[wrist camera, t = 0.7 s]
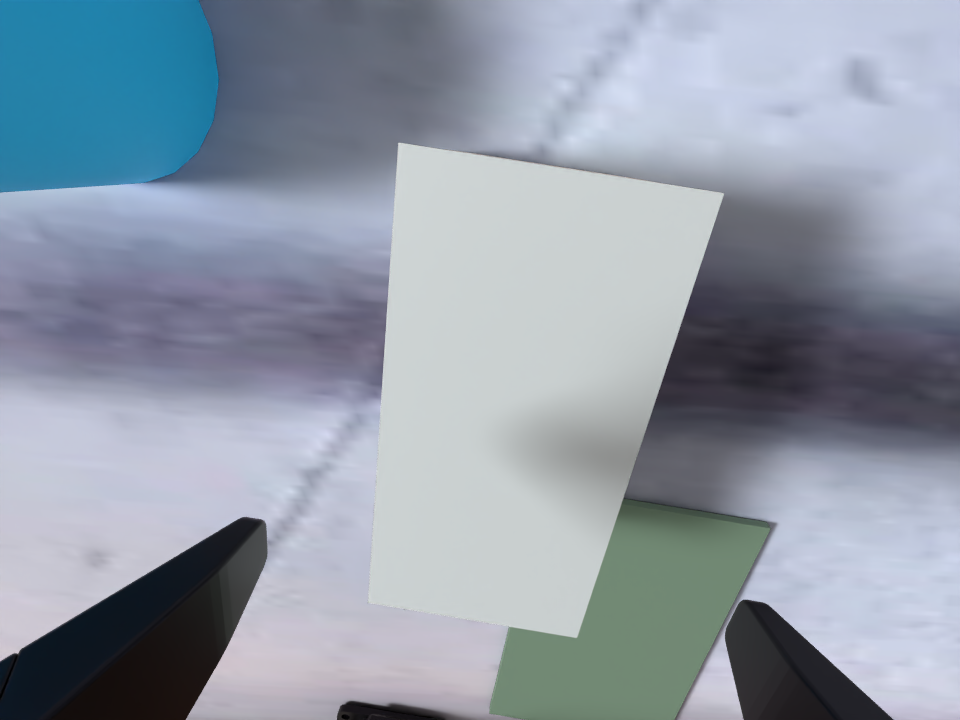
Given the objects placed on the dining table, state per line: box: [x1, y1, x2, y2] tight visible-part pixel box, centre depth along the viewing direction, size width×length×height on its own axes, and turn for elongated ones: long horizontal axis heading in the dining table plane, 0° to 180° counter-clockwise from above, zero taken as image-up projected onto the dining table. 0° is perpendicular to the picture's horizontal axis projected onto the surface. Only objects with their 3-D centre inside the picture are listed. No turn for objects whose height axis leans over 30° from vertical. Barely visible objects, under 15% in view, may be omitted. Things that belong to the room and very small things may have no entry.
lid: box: [368, 143, 724, 638], centre depth 14 cm, size 14×7×2 cm, turn 172°
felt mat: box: [490, 499, 771, 720], centre depth 24 cm, size 16×10×1 cm, turn 172°
